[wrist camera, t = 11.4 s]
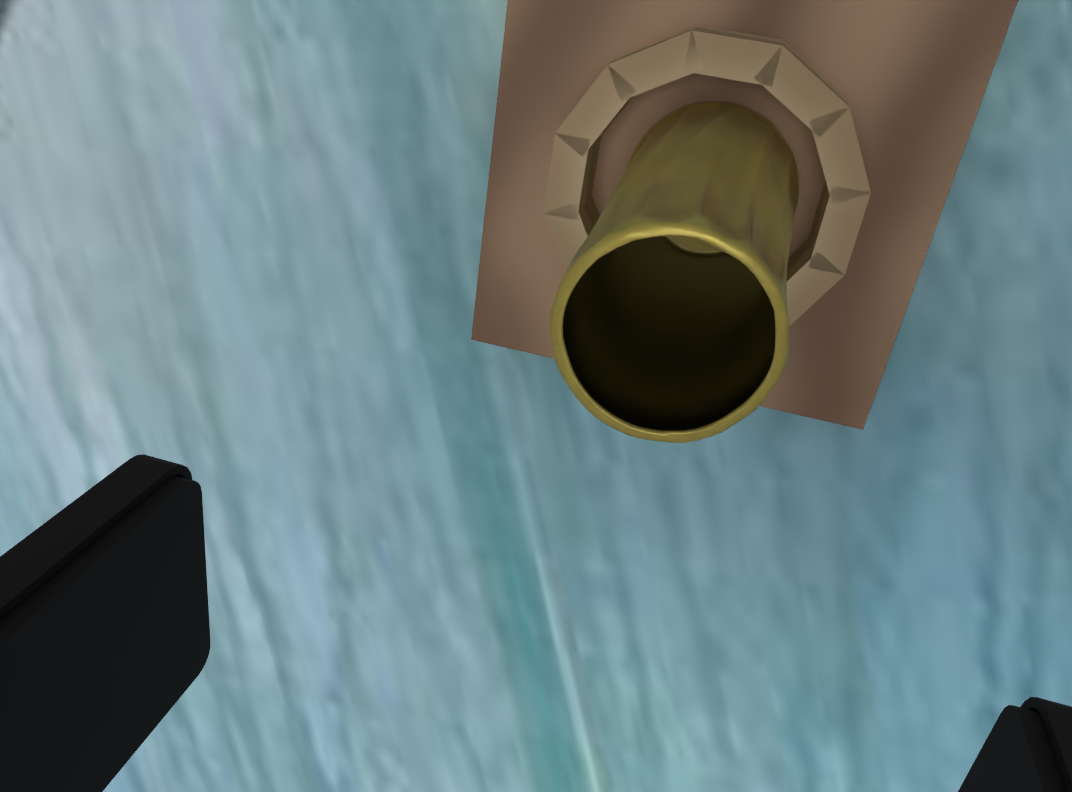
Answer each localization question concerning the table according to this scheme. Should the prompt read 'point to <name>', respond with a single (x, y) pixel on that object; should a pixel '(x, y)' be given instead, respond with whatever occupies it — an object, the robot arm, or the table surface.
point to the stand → (794, 110)
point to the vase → (684, 280)
